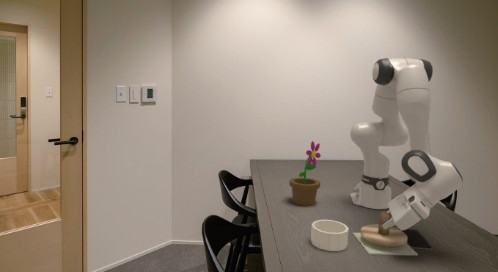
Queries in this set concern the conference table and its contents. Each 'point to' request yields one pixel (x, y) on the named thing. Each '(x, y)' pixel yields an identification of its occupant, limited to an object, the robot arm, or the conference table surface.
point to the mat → (384, 248)
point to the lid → (384, 233)
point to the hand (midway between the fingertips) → (382, 224)
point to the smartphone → (416, 239)
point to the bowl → (329, 235)
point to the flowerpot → (306, 181)
